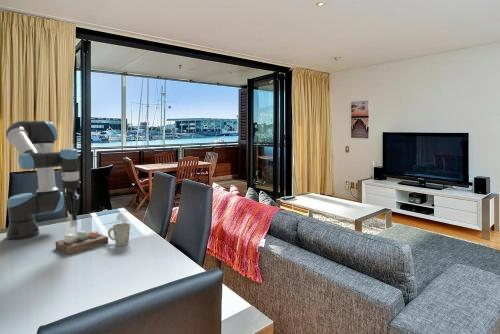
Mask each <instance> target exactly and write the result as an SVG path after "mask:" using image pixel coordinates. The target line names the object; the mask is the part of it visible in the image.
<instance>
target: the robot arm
mask: <svg viewBox="0 0 500 334" xmlns="http://www.w3.org/2000/svg"><path fill="white" fill-rule="evenodd" d="M58 136H59V135H58V129H57V127H56V125H55V124H54V123H53V122H51V121H48V120H47V121H45V120H19V121H17V122H16V121H15V122H14V123H12V124H11V125H9V126H8V128H7V129H6V131H5V138H6V139H7V141H8V142H9V143H10V144H12V145H13V146H14V148H15V150H16V151H17V153H18V154H19V155H18V158H17V159H18V160H17V162H18V166H19V168H20V169H21V170H32V169H33V170H35V169H36V173H37V174H36V175H37V185H38V188H37V189H36V191H35V193H36V194H33V193H32V192H26V193H20V194H15V195H13V196H10V197H9V198H8V199H7V209H8V221H9V224H8V227H7V231H6V239H8V240H23V239H29V238H32V237H35V236H37V235H39V234H40V228H39V227H38V225H37V222H36V220H35V216H38V215H44V214H52V213H56V212H59V211H61V210H62V209H63V206H64V202H65V209H66V212H67V213H68V215H69V224H70V225H69V226H70V228H74V227H78V217H77V214H79V213H80V202H81V201H80V200H81V197H82V196H81V194H78V188H80V186H81V184H80V180H79V179H80V170H79V169H80V168H79V153H78V149H77V148H61V149H60V150H59V151H55V152H54V151H53V146H55V142H56V141H58ZM59 167H60V168H61V169H60V170H61V174H60V176H61V180H62V181H61V187H62V189H65V192H62V191H60V188H58V187H57V185H56V176H55V168H59Z"/></svg>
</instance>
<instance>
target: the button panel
mask: <svg viewBox="0 0 500 334" xmlns="http://www.w3.org/2000/svg"><path fill="white" fill-rule="evenodd" d="M98 236H99V237H95V238H89V232H88V233H87V240H84V241H77V235H76V236H75V243H72V244H65V239H60V240H56V241H55V249H57V250H58V251H59V252H62V253H64V254H66V255H68V256H70V255H72V254H75V253H80V252H82V251H86V250H89V249H90V250H91V249H93V248H97V247H100V246H103V245H107V244H109V236H108V235H104V234H102V233H99V232H98Z"/></svg>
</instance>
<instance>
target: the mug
mask: <svg viewBox="0 0 500 334" xmlns="http://www.w3.org/2000/svg"><path fill="white" fill-rule="evenodd" d="M130 230H131V224H130V223H128V222H125V223H124V222H121V223H120V222H119V223H116V224H114V225H112V227H110V228H109V229H108V231H107V237H108V239H111V240H112V241H115V245H116V247H124V246H127V245H128V244H129V242H130V241H129V239H130V232H131V231H130ZM111 232H113V236H114V237H112V236H111Z"/></svg>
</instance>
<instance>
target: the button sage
mask: <svg viewBox="0 0 500 334" xmlns="http://www.w3.org/2000/svg"><path fill="white" fill-rule="evenodd" d="M87 234H88V233H87V230H80V231H77V232H76V236H77V241H84V240H87Z"/></svg>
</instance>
